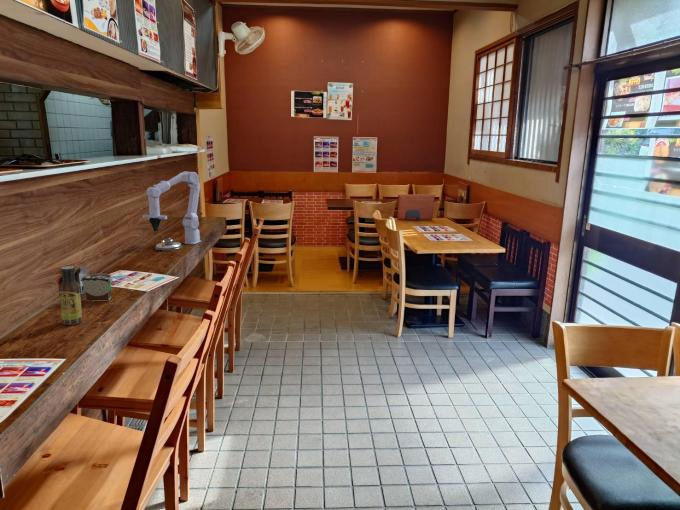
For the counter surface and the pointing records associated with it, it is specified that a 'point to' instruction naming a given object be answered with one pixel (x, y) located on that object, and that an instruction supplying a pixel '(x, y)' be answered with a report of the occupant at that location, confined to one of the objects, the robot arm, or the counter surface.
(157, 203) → the robot arm
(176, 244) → the turntable
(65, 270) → the sauce bottle
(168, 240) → the lid
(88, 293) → the food container
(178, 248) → the turntable base
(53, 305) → the counter surface
